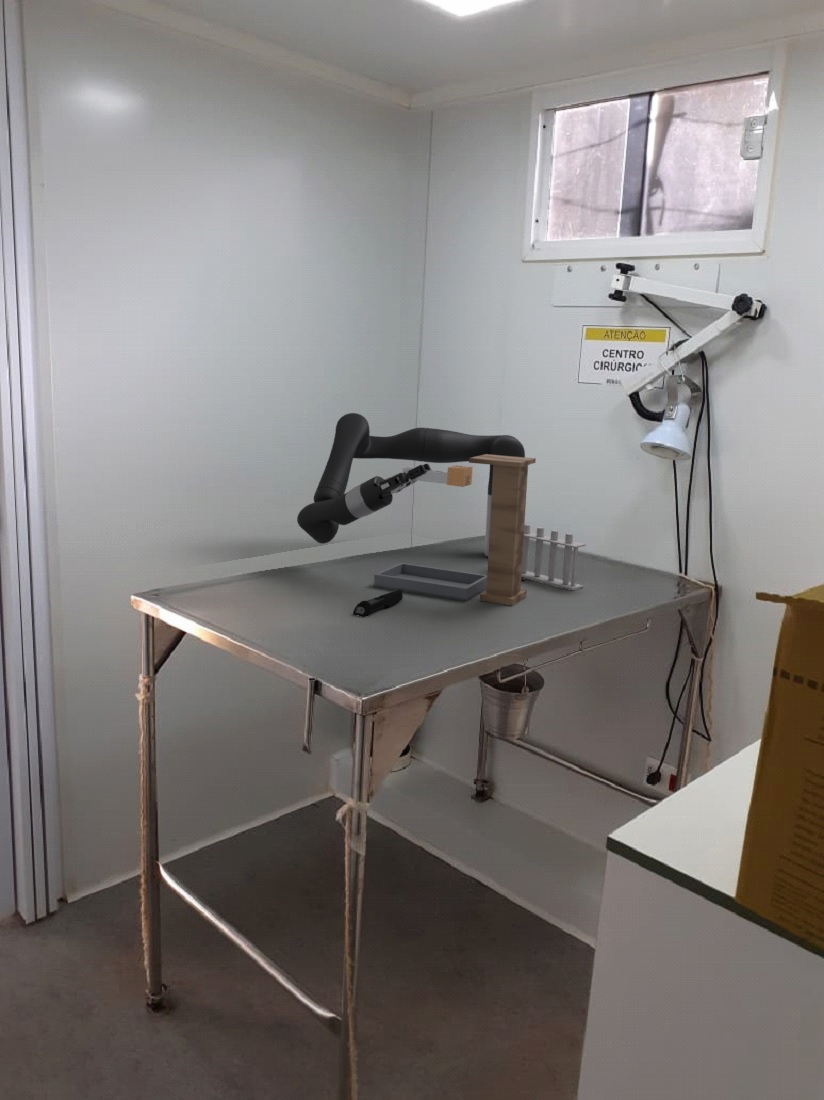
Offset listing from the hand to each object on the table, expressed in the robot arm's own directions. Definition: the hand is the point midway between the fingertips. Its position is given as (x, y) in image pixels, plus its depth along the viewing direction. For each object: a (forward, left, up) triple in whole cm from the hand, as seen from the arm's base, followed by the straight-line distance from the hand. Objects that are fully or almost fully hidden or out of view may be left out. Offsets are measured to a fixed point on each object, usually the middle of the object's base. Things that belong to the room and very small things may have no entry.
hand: (426, 468), depth 200 cm
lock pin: (+1, +2, -3) cm, 4 cm away
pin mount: (+12, +14, -28) cm, 34 cm away
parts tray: (+2, +2, -28) cm, 28 cm away
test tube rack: (-3, +31, -29) cm, 42 cm away
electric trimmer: (+17, -14, -29) cm, 36 cm away
